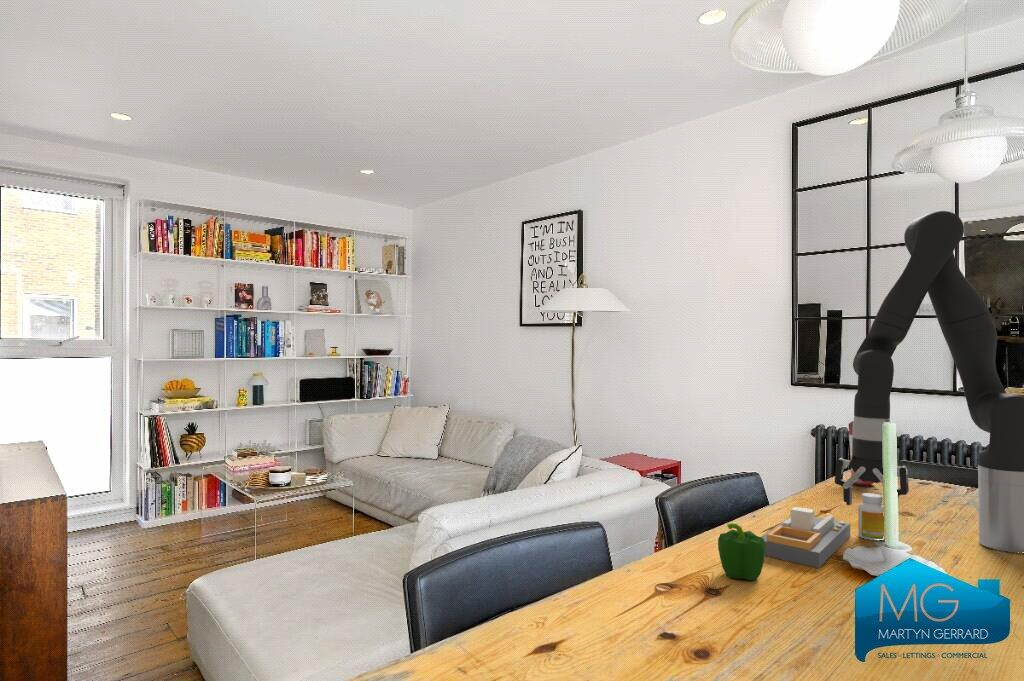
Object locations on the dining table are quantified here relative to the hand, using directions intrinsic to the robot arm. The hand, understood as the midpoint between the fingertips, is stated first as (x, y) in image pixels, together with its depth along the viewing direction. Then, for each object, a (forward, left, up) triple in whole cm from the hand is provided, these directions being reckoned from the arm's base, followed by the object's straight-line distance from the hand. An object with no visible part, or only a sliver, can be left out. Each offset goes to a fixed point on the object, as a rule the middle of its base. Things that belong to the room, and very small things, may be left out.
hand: (870, 508), depth 134 cm
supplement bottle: (0, 0, -7) cm, 7 cm away
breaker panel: (+10, +15, -7) cm, 19 cm away
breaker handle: (+10, +17, -3) cm, 20 cm away
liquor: (+13, -57, -7) cm, 59 cm away
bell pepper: (+14, +42, -7) cm, 44 cm away
